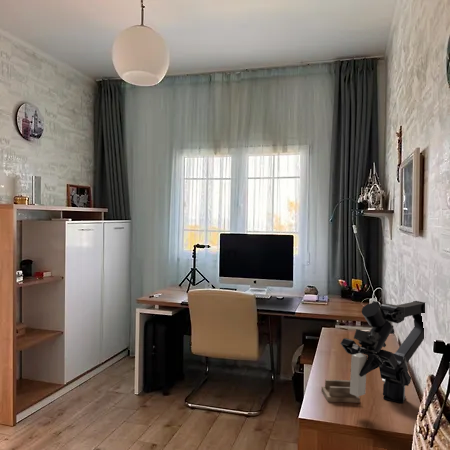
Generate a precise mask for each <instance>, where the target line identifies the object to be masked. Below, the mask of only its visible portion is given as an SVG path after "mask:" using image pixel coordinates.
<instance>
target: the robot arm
mask: <svg viewBox="0 0 450 450" xmlns="http://www.w3.org/2000/svg"><path fill="white" fill-rule="evenodd" d="M425 303H426V302H424V301H419V300H415V301H412V302H407V303H401V304H393V303H391V304H390V303H382V304H380V302H379V301H376V300H373V301H372V302H371V303H367V304H366V305H364V306H363V307H362V309H361V315H363V318H364V319H365V321H366V322H367V323H368V325H369V326H370V327H371V328H370V331H368V330H367V331H366V330H362V329H358V328H356V329H355V332H354V336H353V339H354V340H353V339H350V338H346V337H345V338H342V340H341V342H340V345H341V347H342V348H343V350H344V351H345V352H346V353H347V354H348V355H351V356H352V355H353V354H358V353H361V354H364V355H367V361H366V363H365V364H364V366H363V368H362V369H361V371H360V374H359V375H360V377H362V376H364V375H365V374H366V375H367V374H369V373H370V372H372V371H374V370H377V369H379V375H380V378H381V380H382V379H385V382H384V383H383V385H382V386H383V387H382V390H383V391H382V396H383V399H384V400H386V401H391V402H395V403H399V404H404V403H405V399H406V397H407V396H406V386H407V387H409V385H410V384H411V382H412V381H411V380H412V376H411V375H410V374H409V367H408V366H409V365H408V363H409V362H410V360H411V359H412V357H413V355H415V353H416V351H417V350H418V349H419V347H420V345H421V344H422V343H423V341H424V340H425V339H424V328H423V322H422V316H421V313H425ZM408 317H412V318H413V328H412V330H411V331H410V332H409V334H408V335H407V336H406V338H405V339H404V340H403V341H402V343H401V344H400V346H399V347H398V348H397V350H396V351H395V352H394V353H393V352H391V351H388V350H385V349H383V348H386V347H387V344H386V341H387V340H388V338H389V336H390V334H393V335H394V334H395V329H394V325H392V324H391V323H394V324H400V323H402V322H403V321H405V318H408ZM355 340H357V341H358V344H357V343H356V342H355Z"/></svg>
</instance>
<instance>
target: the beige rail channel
mask: <svg viewBox="0 0 450 450" xmlns="http://www.w3.org/2000/svg"><path fill="white" fill-rule="evenodd" d="M320 390H321V393H322V394H323V396H324V398H325V400H326V402H329V403H333V402H335V403H358V404H359V403H361V397H360V396H358V397H357V396H355V395H352V394H350V380H349V379H348V380H346V379H327V378H326V379H325V380H324V386H321V389H320Z"/></svg>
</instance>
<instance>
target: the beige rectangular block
mask: <svg viewBox="0 0 450 450" xmlns="http://www.w3.org/2000/svg"><path fill="white" fill-rule="evenodd" d="M367 357H368V355H365V354H361V353H358V354H353V355H351V360H350V377H349V378H350V394H352V395H355V396H357V397H358V396H359V397H361V396H364V395H366V390H367V388H366V386H367V383H366V382H367V374H365V375H364V376H362V377H360V375H359V374H360V371H361V369H362V368H363V366H364V364H365V363H366V361H367Z"/></svg>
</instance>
